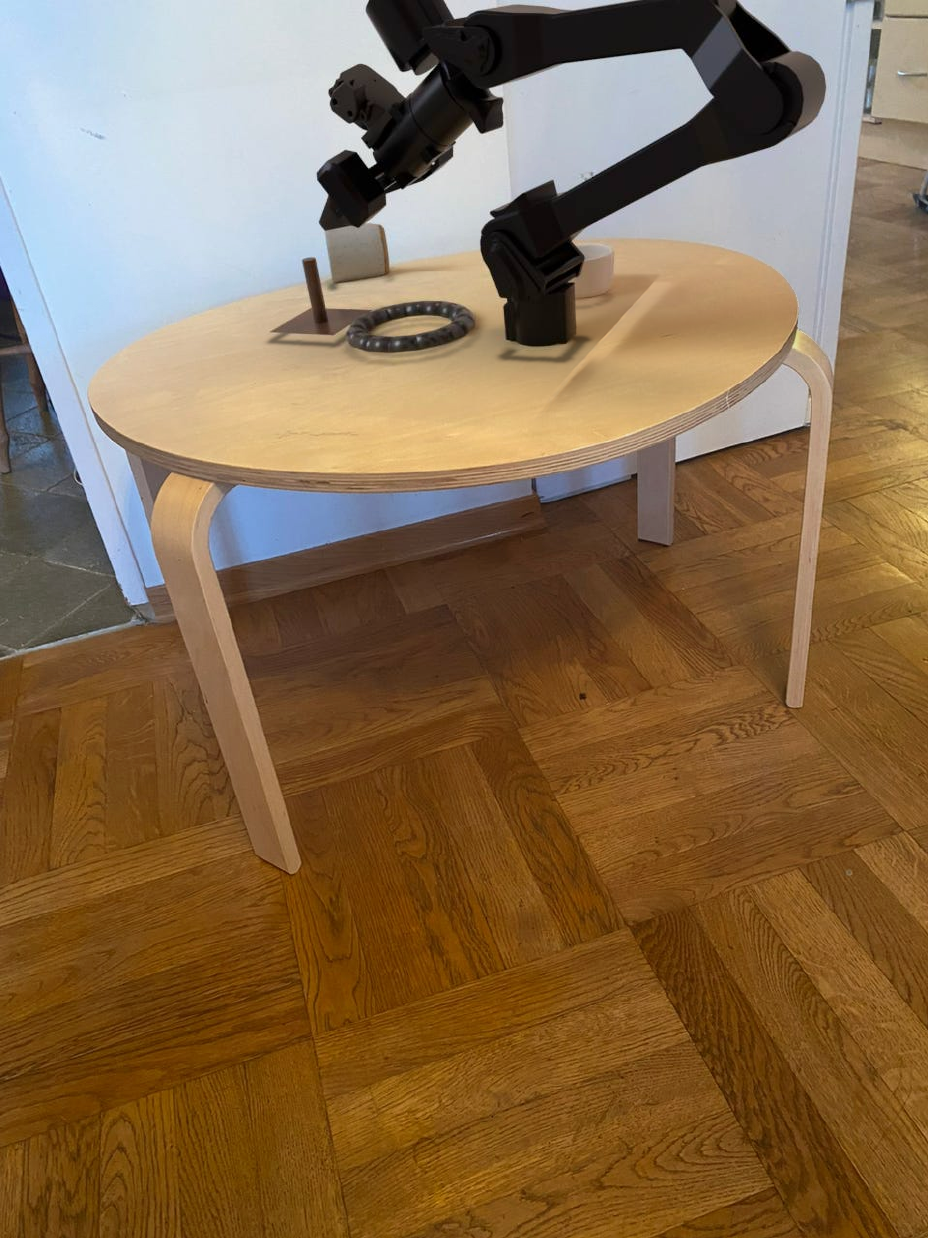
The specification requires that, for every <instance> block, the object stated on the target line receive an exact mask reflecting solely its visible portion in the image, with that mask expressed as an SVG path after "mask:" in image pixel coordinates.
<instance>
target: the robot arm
mask: <svg viewBox="0 0 928 1238" xmlns="http://www.w3.org/2000/svg"><path fill="white" fill-rule="evenodd" d="M365 14H366V16H367V17H368V19H369V21H370V23H371V24H372V26H373V28H374V29H375V31H376V33H377V34H378V36H379V38H380V40H381V41H382V44H383V45H384V47H385V49H386V50H387V51H388V54H389V55H390V57H391V58H392V60H393V62H394V64H395V65H396V67H397V69H398V70H399V72H401V73H406V72H410V71H412V72H413V74H414V75H415V76H421V75H424V74H426V73H427V75H426V76H425V77H424V78H423V79H422V81H421V82H420V83H419V84H418V85H417V86H416V88H414V90H413V91H412V92H410V93H409V94H408V95H407V96H406V97H405V96H404V95H403V94H402V93H401V92H400V91H399V90H398V89H397V87H396V86H395V85H394V84H393V83H391V82H390V81H389V80H388V79H386V78H385V77H383V76H382V75H381V74H380V73H379V72H377V71H375V69H374V68H372V67H370V66H369V65H367V64H366V63H365V64H364V63H357V64H355V65H353V66H351V67H349V68H348V69H346V70H343V71H341V72H340V74H339V77H338V78H337V79H335V82H334V84H333V86H331V87H329V89H328V91H327V93H328V96H329V98H330V100H329V107H330V110H331V111H332V113H334V114H335V115H336V116H337V117H339V118H340V119H342V120H343V121H344V122H345V123H347V124H354V125H356V126H357V127H358V128H360V129H361V130H363V131H366V132H365V133H364V134H363V135H362V136H361V137H360V139H361V140H362V142H363V143H364V145H365V146H366V147H367V149H368V150H371V149H372V156H373V159H374V161H375V164H373V165H372V166H370V167H368V165H367V164H366V163H365V161H364V160H363V159H362V157H361V155H360V154H359V153H358V152H357V151H353V150H350V149H348V150H347V149H344V150H342V151H340V152H339V153H337V154H336V155H334V156H333V157H331V158H328V159H327V160H326V161H325V163H323V165H322V166H321V167H320V168H319V169H318V171H316V181H317V182H318V183H319V185H320V186H321V187H322V189H323V190H324V191H325V192H326V194H327V198H326V201H325V203H324V207H323V209H322V211H321V215H320V216H319V220H318V224H319V225H320V227H321V228H322V230H323V231H324V230H325V231H328V230H332V229H337V228H342V227H348V226H354V227H357V228H359V227H361V226H362V225H364V224H366V223H369V221H371V220H372V219H373V218H374V217H375V216H376V215H378V214H379V213H380V212H381V211H382V210H384V209H385V207H386V206H387V194H390V193H393V192H395V191H396V192H397V191H398V190H402V191H403V190H405V188H407V187H410V186H412V185H415V184H418V183H420V182H424V181H425V180H426V179H428V178H429V177H430V176H432V175H434V174H435V173H437V172H438V171H439V170H440V169H442V168H444V167H445V165H446V164H447V163H449V162H450V160H451V159H452V158H454V146H455V145H456V144H457V142H456V141H457V139H458V138H460V136H462V135H463V133H465V131H466V130H467V129H469V127H471V125H473V124H474V127H475V128H476V130H477V131H478V133H479V134H481V135H484V134H487V133H489V132H493V131H495V130H498V129H499V130H500V129H501V128H502V127H503V126H504V111H503V105H504V102H505V100H504V98H503V97H502V96H496V95H495V94H493V93H492V91H491V90H490V89H492V88H496V87H500V86H504V85H507V84H511V83H514V82H518V81H521V80H524V79H527V78H530V77H533V76H535V75H538V74H541V73H543V72H547V71H549V70H552V69H554V68H557V67H559V66H561V65H564V64H573V63H579V62H586V61H587V62H589V61H594V60H602V59H611V58H617V57H625V56H627V57H628V56H635V55H641V54H642V55H643V54H649V53H658V52H666V51H674V50H682V51H683V52H684V54H686V56H687V57H688V58H689V59H690V60H691V63H692V64H693V66H694V67H695V69H696V71H697V73H698V75H699V77H700V79H701V80H702V82H703V84H704V86H705V88H706V89H707V91H708V92H709V93H710V95H711V96H712V98H711V99H710V100H709V101H708V102H707V103H706V104H705V105H704V106H703V107H702V108H700V110H699V111H698V112H697V113H695V114H694V115H693V117H692V118H690V119H689V120H688V121H687V122H686V123H684V124H682V125H681V126H678V127H676V128H675V129H673V130H672V131H670V132H669V133H666V134H664V135H663V136H661V137H659V138H658V139H656V140H654V141H652V142H651V143H649V144H648V145H645V146H643V147H642V148H640V149H639V150H636V151H635V152H633V153H631V154H630V155H628V156H626V157H625V158H623V159H621V160H619V161H618V162H616V163H614V164H611V166H609V167H607V168H605V169H603V170H602V171H600V172H598V173H596V174H594V175H593V176H590V178H588V179H586V180H584V181H583V182H581V183H579V184H578V185H576V186H574V187H572V188H570V189H568V190H565V191H561V192H557V188H556V184H555V180H554V179H550V180H548V181H546V182H544V183H542V184H539V185H537V186H535V187H533V188H530V189H528V190H526V191H524V192H521V194H519V195H518V196H517V197H515V198H514V199H513V200H512V201H510V202H508V203H506V204H503V205H501V206H498V207H497V208H495V209H492V210H490V211H489V215H490V216H491V217H492V219H490V220H489V221H487V222H486V223H485V224H484V225H483V227H482V229H481V230H480V234H481V235H480V239H479V247H480V253H481V257H482V260H483V262H484V263H485V266H486V267H487V268H488V270H489V273H490V276H491V278H492V282H493V284H494V287H495V290H496V292H497V295H498V298H500V299H506V303H504V304H503V305H502V309H503V323H504V334H505V335H504V337H505V341H510V342H511V343H514V342H515V343H518V345H521V346H525V347H533V348H539V347H542V348H543V347H550V346H555V345H567V344H568V343H569V341H571V340H572V339H573V338H574V337H575V336H576V335H577V310H576V299H575V283H574V282H568V281H570V280H572V279H573V278H576V277H578V276H580V273H581V270H582V267H583V263H584V260H585V257H584V255H583V254H582V252H581V251H580V250H579V249H578V248H577V247H576V246H575V244H576V243H574V242H573V241H574V239H576V238H577V237H578V236H579V235H580V234H581V233H582V232H583V231H584V230H585V229H586V228H589V226H591V225H593V224H595V223H598V222H599V221H601V220H603V219H605V218H607V217H609V216H611V215H613V214H615V213H617V212H618V211H621V210H623V209H624V208H626V207H628V206H629V205H632V204H633V203H636V202H638V201H639V200H641V199H643V198H645V197H647V196H649V195H651V194H653V193H654V192H657V191H658V190H660V189H662V188H664V187H666V186H668V185H669V184H672V183H673V182H675V181H677V180H679V179H681V178H683V177H685V176H687V175H689V174H691V173H693V172H694V171H697V170H699V169H700V168H703V167H706V166H710V165H712V164H717V163H721V162H725V161H729V160H733V159H734V160H735V159H738V158H741V157H744V156H747V155H751V154H754V153H757V152H761V151H763V150H767V149H770V148H772V147H775V146H777V145H779V144H781V143H782V142H784V141H785V140H787V139H789V138H790V137H792V136H794V135H795V134H797V133H799V132H801V131H802V130H804V129H805V128H807V127H808V126H809V125H811V124H812V123H813V122H814V121H815V119H816V118H817V117H818V116H819V113H820V111H821V109H822V107H823V104H824V102H825V99H826V91H827V82H826V76H825V75H826V74H825V72H824V71H823V68H822V67H821V64H820V63H819V62H818V61H817V60H816V59H815V58H814V57H813V56H811V55H809V54H807V53H804V52H801V51H798V50H791V48H789V46H788V45H787V44H786V43H785V41H784V40H783V39H782V38H781V37H780V36H779V35H778V34H777V33H775V32H774V31H773V30H772V29H771V28H769V27H768V26H767V25H765V24H764V23H763V22H762V21H760V20H759V19H758V18H757V17H756V16H754V15H753V14H752V13H751V12H749V11H748V9H746V8H745V7H744V6H743V5H742V4H741V2H740V1H739V0H628V1H622V2H616V3H615V2H614V3H611V4H604V5H597V6H591V7H587V8H579V9H562V8H556V7H551V6H544V5H532V4H519V3H517V4H509V5H503V6H497V7H491V8H486V9H479V10H476V11H474V12H470V13H469V14H468V15H467V16H464V17H458V18H454V16H453V14H452V12H451V10H450V8H449V6H448V5H447V3H446V2H445V0H368V1H367V3H366V6H365ZM429 71H430V72H429ZM428 72H429V73H428ZM325 231H324V232H325Z"/></svg>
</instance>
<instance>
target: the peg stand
mask: <svg viewBox="0 0 928 1238" xmlns="http://www.w3.org/2000/svg"><path fill="white" fill-rule="evenodd" d="M301 264H302V269H303V272H304V277H305V283H306V287H307V293H308V297H309V301H310V305H311V307H310V308H308V309H306V310H305V311H303V312H301V313H299V314H297V315H296V316H294V317H293V318H291V319H289V320H287V321H285V322H284V323H282V324H280V325H279V326H277V327H276V328H274V329H272V330H270V331H269V333H273V334H274V333H276V334H295V335H315V336H316V335H317V336H334V335H336V334H337V333H339V332H341V331H342V330H344V329H346V328H347V327H349V326H350V325H351V323H352V322H353V321H355V320H356V319H358V318H359V317H361V316H363V315H364V314H366V313H369V312H371V311H373V309H356V308H329V307H328V308H327V307H326V303H325V297H324V293H323V288H322V287H323V286H322V282H321V276H320V273H319V268H318V263H317V257H313V256H311V257H305V258H302V260H301Z"/></svg>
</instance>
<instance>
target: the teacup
mask: <svg viewBox="0 0 928 1238" xmlns="http://www.w3.org/2000/svg"><path fill="white" fill-rule="evenodd" d="M574 244H575V246H576V247H577V248H578V249H579V250H580V251H581V252H582V254H583V255H584V257H585V260H584V263H583V267H582V270H581V273H580V276H578V277H576V278H573V279H572V280H570V281H568V282H574V283H575V300H577V299H585V298H586V299H587V298H588V299H589V298H593V297H597V296H600V295H603V294H605V293H607V292H609V290H610V288H611V286H612V284H613V280H614V270H615V269H614V268H615V250H614V248H613V247H612V246H611V245H608V244H605V243H598V242H580V243H574Z"/></svg>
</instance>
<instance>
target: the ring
mask: <svg viewBox="0 0 928 1238" xmlns="http://www.w3.org/2000/svg"><path fill="white" fill-rule="evenodd" d="M420 316H421V317H422V316H427V317H428V316H429V317H431V316H432V317H433V316H434V317H441V318H445V319H448V320H449V321H451V322H450V323H449V324H446V325H444V326H441V327H439V328H437V329H433V330H429V331H425V332H424V331H423V332H420V333H415V334H407V335H397V336H395V335H394V336H389V335H375V334H372V333H370V332H371V331H372V330H373V329H375V328H376V327H378V326H380V325H382V324H386V323H387V322H390V321H394V320H399V319H403V318H404V319H405V318H410V317H420ZM475 325H476V316H475V314H474V313H473V312H472V311H471V310H470V309H468V308H467V307H466V306H465V305H462V304H460V303H455V302H450V301H446V300H417V301H406V302H400V303H397V304H396V303H395V304H392V305H387V306H383V307H379V308H377V309H374V310H372V311H370V312H369V313H366V314H364V315H363V316H361V317H359V318H358V319H356V320H355V321H353V322H352V323H351V324H350V325H349V326H348V329H347V331H346V334H345V341H346V342H347V344H349V346H350V347H351V348H354V349H357V350H360V351H364V352H368V353H384V354H395V353H405V352H416V351H417V352H418V351H422V350H426V349H427V350H428V349H431V348H435V347H439V346H443V345H447V344H449V343H451V342H453V341H456V340H459V339H462V338H464V337H465V336H466V335H467V334H469V333H470V332H471V331H472V330H473V329H475Z"/></svg>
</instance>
